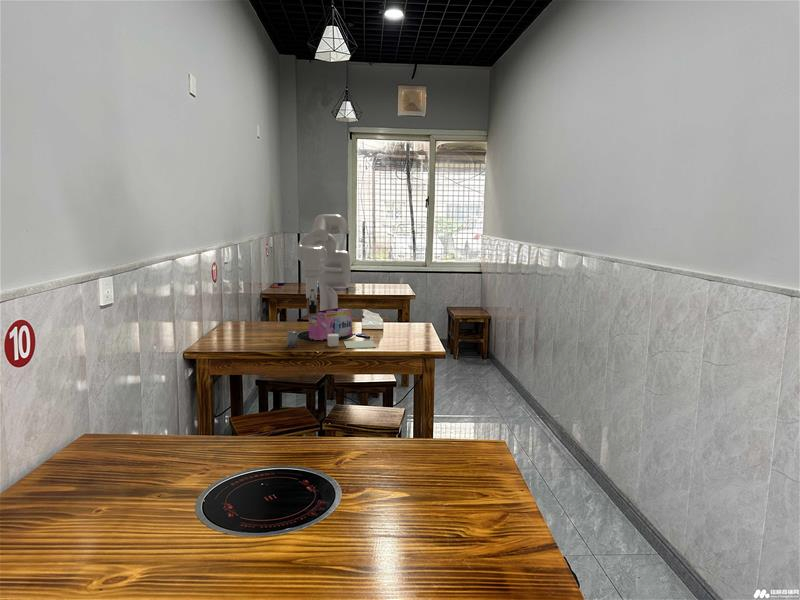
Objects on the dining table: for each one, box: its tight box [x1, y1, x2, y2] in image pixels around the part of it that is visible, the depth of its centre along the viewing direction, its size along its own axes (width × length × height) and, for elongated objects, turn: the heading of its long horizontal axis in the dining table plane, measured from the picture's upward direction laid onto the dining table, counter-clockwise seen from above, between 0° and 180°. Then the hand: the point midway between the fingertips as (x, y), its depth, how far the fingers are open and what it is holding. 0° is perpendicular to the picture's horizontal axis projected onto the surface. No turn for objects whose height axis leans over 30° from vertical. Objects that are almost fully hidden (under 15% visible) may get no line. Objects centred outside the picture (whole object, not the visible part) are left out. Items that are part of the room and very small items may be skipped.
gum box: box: [308, 307, 353, 341], centre depth 284 cm, size 24×8×14 cm, turn 137°
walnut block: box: [306, 298, 319, 317], centre depth 261 cm, size 5×5×7 cm
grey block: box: [326, 334, 340, 347], centre depth 265 cm, size 5×5×5 cm
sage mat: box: [343, 340, 377, 349], centre depth 266 cm, size 14×14×1 cm
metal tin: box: [286, 330, 299, 348], centre depth 261 cm, size 5×5×7 cm
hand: (312, 311), depth 262 cm, fingers closed on walnut block, 5 cm apart
